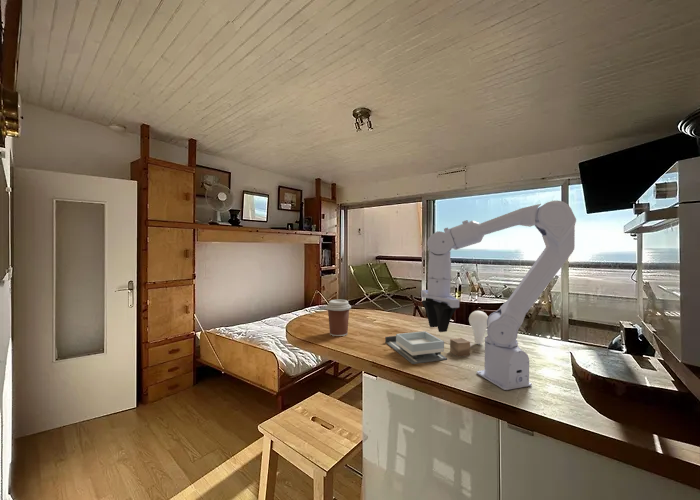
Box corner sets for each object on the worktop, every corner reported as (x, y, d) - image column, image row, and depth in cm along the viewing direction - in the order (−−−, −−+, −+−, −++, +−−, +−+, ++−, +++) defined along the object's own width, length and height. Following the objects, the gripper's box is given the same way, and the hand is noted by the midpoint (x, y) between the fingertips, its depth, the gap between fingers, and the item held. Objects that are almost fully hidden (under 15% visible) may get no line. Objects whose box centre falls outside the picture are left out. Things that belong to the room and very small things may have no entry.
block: (469, 355, 89) (470, 342, 89) (458, 356, 88) (458, 343, 88) (461, 350, 93) (461, 337, 93) (450, 352, 92) (450, 339, 92)
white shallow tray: (443, 355, 86) (444, 341, 86) (412, 359, 83) (412, 344, 83) (425, 344, 96) (425, 331, 96) (396, 347, 93) (396, 334, 93)
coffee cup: (322, 336, 106) (322, 302, 106) (331, 329, 115) (331, 298, 115) (346, 339, 104) (346, 304, 103) (354, 331, 113) (354, 299, 112)
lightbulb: (491, 348, 95) (491, 313, 94) (470, 346, 96) (470, 312, 96) (486, 341, 101) (486, 309, 100) (467, 340, 102) (467, 308, 102)
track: (447, 359, 86) (447, 352, 86) (412, 364, 82) (412, 357, 82) (414, 339, 103) (414, 333, 103) (385, 342, 100) (385, 336, 100)
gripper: (412, 275, 85) (411, 322, 85) (442, 282, 71) (440, 339, 72) (434, 274, 87) (433, 321, 87) (467, 281, 73) (465, 336, 74)
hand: (438, 329), depth 80 cm, fingers open, 4 cm apart
